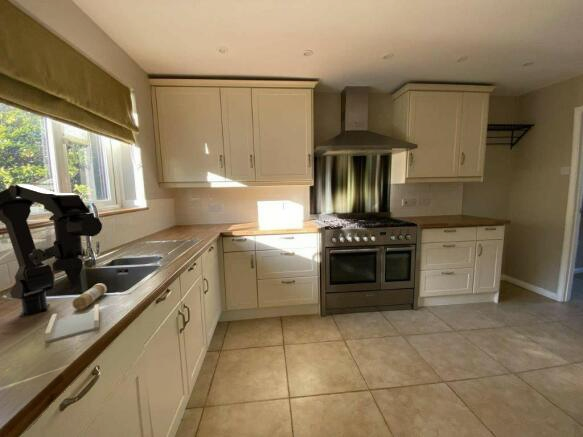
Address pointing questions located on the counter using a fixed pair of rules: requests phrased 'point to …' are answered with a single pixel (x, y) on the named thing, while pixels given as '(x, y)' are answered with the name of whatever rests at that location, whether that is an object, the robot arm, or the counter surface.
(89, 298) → the sprinkles bottle
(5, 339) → the counter surface
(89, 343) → the counter surface
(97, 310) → the cradle board
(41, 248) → the robot arm
